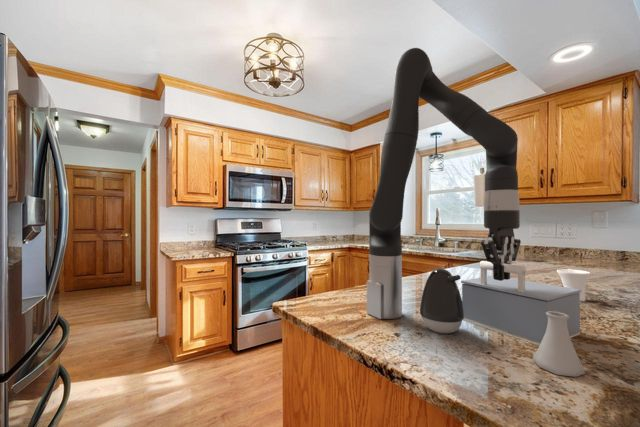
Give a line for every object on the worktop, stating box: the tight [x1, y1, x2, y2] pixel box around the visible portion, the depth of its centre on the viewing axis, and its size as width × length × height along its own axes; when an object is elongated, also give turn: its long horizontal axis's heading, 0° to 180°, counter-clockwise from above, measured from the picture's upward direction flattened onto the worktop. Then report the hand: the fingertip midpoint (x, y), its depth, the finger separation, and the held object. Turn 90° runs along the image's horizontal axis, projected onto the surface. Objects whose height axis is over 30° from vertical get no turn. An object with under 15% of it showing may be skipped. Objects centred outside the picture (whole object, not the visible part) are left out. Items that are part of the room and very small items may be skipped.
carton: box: [461, 283, 581, 346], centre depth 76 cm, size 16×20×10 cm
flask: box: [532, 311, 586, 377], centre depth 55 cm, size 7×7×10 cm
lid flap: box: [460, 260, 581, 301], centre depth 76 cm, size 16×20×7 cm
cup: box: [556, 268, 591, 302], centre depth 102 cm, size 9×9×10 cm
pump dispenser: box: [419, 268, 464, 335], centre depth 73 cm, size 10×10×15 cm
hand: (501, 279), depth 72 cm, fingers closed on lid flap, 2 cm apart
